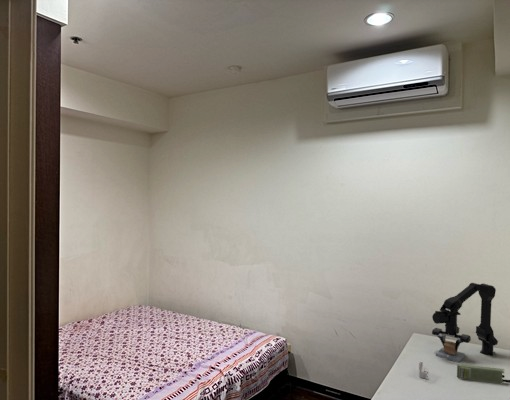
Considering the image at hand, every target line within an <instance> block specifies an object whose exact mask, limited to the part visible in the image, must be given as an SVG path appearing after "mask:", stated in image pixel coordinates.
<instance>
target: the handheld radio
mask: <svg viewBox="0 0 510 400" xmlns="http://www.w3.org/2000/svg"><path fill="white" fill-rule="evenodd" d="M504 374H505V369H504V368H499V367H498V368H497V367H490V366H480V365H471V364H461V363H457V365H456V377H457V378H458V379H462V380H469V381H478V382H485V383H494V384H500V383H502V384H504V383H508V384H510V379H505V377H506V376H505V375H504Z"/></svg>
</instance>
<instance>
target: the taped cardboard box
mask: <svg viewBox="0 0 510 400" xmlns="http://www.w3.org/2000/svg"><path fill="white" fill-rule="evenodd" d="M443 348H444V352H446V353H449V354H453V355H455V354H456V353H457V352H458V351H457V352H456V349H455V348H456V342H454V341H450V340H446V342H445V343H444V347H443Z"/></svg>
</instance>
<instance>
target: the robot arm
mask: <svg viewBox="0 0 510 400" xmlns="http://www.w3.org/2000/svg"><path fill="white" fill-rule="evenodd" d="M496 291H497V290H496V287H495V286H493V285H491V284H488V283H487V284H486V283H484V282H483V283H480V284H479V283H476V282H470V283H469V284H468V285H467V286H466V287H465V288H464V289H463V290H461V291H460V292H459V293H457V294H456V295H455V296H450V297H449V298H447V299H445V300H444V301H443V304H442V306H441V307H440V308H439V310H435V312H434V313H433V314H432V317H431V318H432V321H433V322H434V324H436V325H437V324H444V327H445V329H444V331H443V329H442V328H438V327H435V328H433V329H432V330H431V334H432V336H433V335H434V336H437V338H439V341H440V342H441V344H442V346H443V347H442V348H444V343H445V342H446V341H447V340H446V338H447V337H451V338H455V339H456V340H455V343H456V348H455V349H456V352H458V350H459V348H460V345H461V344H463V343H466V344H468V343H470V342H471V335H470V334H465V333H462V334H461V335H460V334H459V333H460V329H461V328H460V327H458V316H460V315H461V312H459V310H461V308H462V307H463V304H464V302H466V301H467V300H468V299H469V298H471V297H472V296H473V295H475V294H476V293H477V292H478V295H479V297H480V302H481V303H480V305H481V306H480V322H479V323H480V324H479V325H477V326H476V327H475V334H476V337H477V340H479V341H481V350H480V351H479V353H480V354H483V355H487V356H492V357H493V356H494V355H495V354H496V352H495V351H494V346H496V345H498V343H499V340H498V339H497V338H496V337H495V336H494V329H493V328H492V325H491V322H492V320H491V319H492V301H493V300H494V298H495V297H496ZM446 336H447V337H446Z"/></svg>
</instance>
